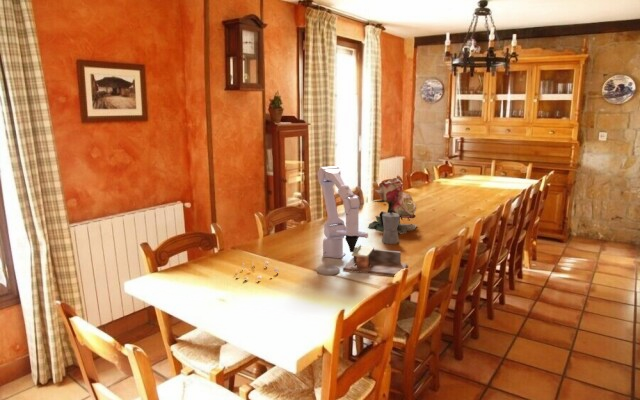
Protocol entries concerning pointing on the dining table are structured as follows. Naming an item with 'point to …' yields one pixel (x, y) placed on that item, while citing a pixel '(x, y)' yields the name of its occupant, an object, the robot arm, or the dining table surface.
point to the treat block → (363, 262)
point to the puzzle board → (379, 263)
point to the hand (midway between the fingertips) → (352, 251)
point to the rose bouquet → (395, 205)
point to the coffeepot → (390, 227)
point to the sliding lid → (362, 251)
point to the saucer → (328, 270)
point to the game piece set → (259, 276)
